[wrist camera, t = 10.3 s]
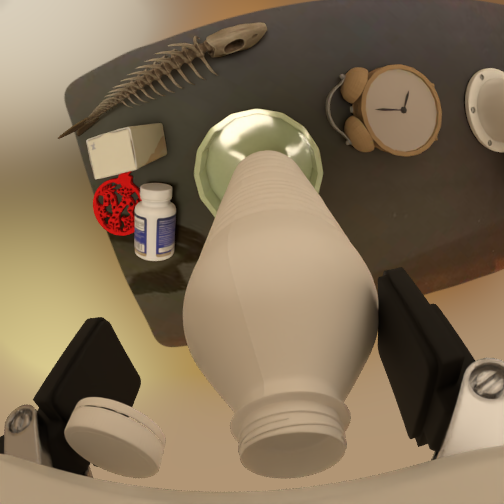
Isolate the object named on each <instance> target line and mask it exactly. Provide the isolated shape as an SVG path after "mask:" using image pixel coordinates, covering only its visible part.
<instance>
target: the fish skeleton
mask: <svg viewBox="0 0 504 504" xmlns="http://www.w3.org/2000/svg"><path fill="white" fill-rule="evenodd" d="M266 31H267V28H266V25H265V24H264V23H251V24H241V25H236V26H234V27H229V28H225V29H222V30H220V31H218V32H216V33H214V34H212V35H210V36H208V37H207V40H205V41H204V43H203V44H199V43H197V40H196V38H198V37H197V36H195V37H194V38H193V41H194V44H193V45H192V44H187V43H179V44H172V45H168V46H182V51H180V52H179V51H178V50H176V49H173V50H172V51H164V52H159V53H156V54H171V58H164V57H169V56H167V55H164V56H163V57H162V58H156V59H150V60H147V61H155V62H154V63H153V65H145V66H140V67H138V68H144V67H146V69H145V71H139V72H134V73H131V74H129V75H132V74H138V75H137V77H132V78H127V79H124V80H131V81H130V83H125V84H121V85H118V86H115V87H121V86H125V88H120V89H116V90H113V91H110V92H114V91H119V93H113V94H110V95H108V96H114V95H117V96H115V97H111V98H108V99H105V100H109V101H105V102H102V103H106V104H102V103H100V104H102V105H99V106H102V107H99V106H97V107H99V108H101V109H99V108H96V109H97V110H98V111H97V110H95V109H94V111H95V112H93V111H92V112H93V114H94V115H93V114H91V117H90V116H89V118H85V119H84V120H82V121H80V122H78V123H77V124H75V125H74V126H72V127H71V128H70V129H68V130H67V131H66V132H65V133H63V134H62V135H60V137H59V138H62V137H64V136H66V135H68V134H70V133H72V132H75V131H76V130H78V131H77V134H76V135H78V136H80V135H81V134H82V133H84V132H85V131H86V130H87V129H88V128H90V127H91V126H92V125H93V124H94V123H95V122H96V121H97V120H98V119H99V117H98V116H99V115H100V116H101V114H104V112H106V111H107V110H109V109H110V108H112V107H113V106H114V105H115V106H117V105H116V104H118V103H121V102H122V103H123V104H125V105H126V106H127V107H130V106H128V105H127V104H126V103H125V102H124V101H123V99H124V98H125V97H126V98H128V99H129V100H130V101H131V102H132V103H133V104H135V105H139V104H136V103H135V102H133V101H132V99H131V98H130V94H134V95H135V96H136V97H137V98H138V99H139V100H141V101H142V102H145V101H143V100H142V99H141V98H140V97H139V96H138V95H137V93H136V91H137V89H140V90H141V91H142V92H143V93H144V94H145V95H146V96H147V97H149V98H150V99H154V98H152V97H150V96H149V95H148V94H147V93H146V91H145V90H144V88H143V87H144V86H145V85H146V84H147V85H149V86H150V87H151V88H152V89H153V90H154V92H155V93H157V94H158V95H161V94H160V93H158V92H157V91H156V89H155V88H154V87H153V85H152V81H153V80H157V81H158V82H159V83H160V84H161V85H162V86H163V87H164V88H165V89H166V90H167V91H168V92H172V91H170V90H169V89H167V87H166V86H165V85H164V83H163V82H162V80H161V76H162V75H163V74H165V75H167V76H168V77H169V78H170V79H171V81H172V82H173V83H174V84H175V85H176V86H177V87H179V88H182V87H180V86H179V85H178V84H177V83H176V82H175V80H174V79H173V77H172V76H171V74H170V72H171V70H172V69H177V71H178V72H179V73H180V74H181V75H182V77H183V78H184V79H185V80H186V81H187V82H188V83H190V84H193V83H191V82H190V81H189V80H188V79H187V78H186V76H185V75H184V73H183V71H182V70H181V68H180V67H181V66H182V64H183V63H187V64H188V65H189V66H190V67H191V68H192V70H193V71H194V72H195V73H196V74H197V76H198V77H200V78H201V79H204V78H203V77H202V76H201V75H200V74H199V73H198V72H197V70H196V69H195V67H194V65H193V64H192V60H193V59H194V58H195V57H200V58H201V59H202V61H203V62H204V63H205V65H206V66H207V67H208V69H209V70H210V71H211V72H212V73H213V74H215V75H217V74H216V73H215V72H214V71H213V70H212V68H211V67H210V65H209V64H208V62H207V61H206V59H205V56H204V55H205V52H206V51H208V53H209V54H210V56H211V57H221V56H224V55H227V54H230V53H233V52H236V51H239V50H246V49H248V48H249V47H250V48H251V47H252V46H253V45H255V44H256V43H257V42H258V41H259V40H260V39H261V38H262V37H263V35H264V34H265V32H266ZM198 39H200V38H198ZM185 47H186V48H190V49H185ZM174 50H175V51H174ZM175 55H177V56H175ZM158 61H162V63H161V64H156V65H155V63H156V62H158ZM144 62H146V61H144ZM158 63H160V62H158ZM148 68H150V69H152V68H153V69H152V70H150V71H147V69H148ZM135 69H136V68H135ZM140 74H145V75H144V76H142V77H139V75H140ZM124 80H122V81H124ZM133 80H136V81H135V82H133V83H132V81H133ZM204 80H206V79H204ZM193 85H195V84H193ZM126 86H128V87H126ZM113 88H114V87H113ZM182 89H183V88H182ZM121 91H122V92H121ZM108 93H109V92H108ZM172 93H175V92H172ZM161 96H165V95H161ZM105 97H106V96H105ZM110 99H112V100H110ZM102 101H104V100H102ZM120 101H121V102H120ZM122 103H121V104H122ZM147 103H148V102H147ZM131 108H133V107H131ZM112 109H113V108H112ZM109 111H110V110H109ZM96 112H97V113H96ZM106 113H107V112H106ZM96 117H98V118H96ZM95 118H96V119H95ZM93 119H94V120H93ZM88 120H89V121H88ZM86 121H87V122H89V123H86ZM84 122H85V123H86V124H85V123H84ZM59 138H58V139H59Z"/></svg>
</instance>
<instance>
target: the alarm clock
mask: <svg viewBox="0 0 504 504" xmlns="http://www.w3.org/2000/svg"><path fill="white" fill-rule="evenodd" d="M340 78H341V81H340V83H339V84H338V85H337V86H335V87H334V88H333V89H332V90H331V91H330V92H329V94H328V96H327V99H326V108H325V110H326V115H327V118H328V121H329V123H330V124H331V126H332V127H333V128H334V129H335V130H336V131H337V132H339V133H340V134H341V135H342V136H343V137H344V138H345V139H346V140H347V141H346V142H345V143H346V144H347V145H350V144H351V145H352V146H353V147H354V148H355V149H357V150H358V151H361V152H370V151H372V150H374V147H376V148H378V149H380V150H382V151H384V152H388V153H391V154H393V155H399V156H405V157H408V156H413V155H417V154H420V153H421V152H423V151H424V150H426V149H428V148H429V147H430V145H431V144H432V143H433V142H434V140H436V141H437V140H438V138H437V135H438V132H439V130H440V127H441V118H442V110H441V105H440V100H439V97H438V95H437V93H436V91H435V88H434V86H435V85H434V84H433V83H432V84H431V83H430V81H429V80H428V79H427V78H426V77H425V76H424V75H423V74H422V73H420V72H418V71H417V70H415V69H414V68H412V67H408V66H404V65H401V64H399V65H387V66H385V67H382V68H377V69H375V70H373V71H371V72H369V73H368V70H367V69H365V68H361V67H356V68H353V69H351V70H349V71H348V72H347V73H346V75H343V74H341V75H340ZM340 86H341V94H342V96H343V98H344V99H345V100H346V101H347V102H349V103H351V104H352V103H353V106H351V107H350V112H351V113H353V115H354V116H350V117H349V118H348V119H347V120H346V122H345V125H344V131H345V134H344V133H343V132H342V131H340V130H339V129H338V128H337V127H336V125H335V124H334V122H333V120H332V117H331V113H330V101H331V97H332V95H333V93H334V92H335V90H336V89H337V88H338V87H340Z"/></svg>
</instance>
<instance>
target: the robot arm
mask: <svg viewBox="0 0 504 504" xmlns="http://www.w3.org/2000/svg"><path fill="white" fill-rule="evenodd" d="M465 108H466V115H467V119H468V122H469V125H470V128H471V130H472V132H473V134H474V135H475V137H476V138H477V139H478V141H479V142H480V143H481V144H482V145H483V146H485V147H486V148H488V149H490V150H492V151H496V152H504V72H502V71H500V70H498V69H494V68H487V69H482V70H480V71H478V72H476V73H475V74H474V75H473V76H472V78H471V79H470V81H469V83H468V86H467V89H466V95H465ZM378 318H379V323H378V350H379V355H380V358H381V360H382V363H383V366H384V368H385V371H386V374H387V376H388V379H389V382H390V384H391V387H392V390H393V393H394V395H395V398H396V401H397V404H398V407H399V410H400V413H401V415H402V418H403V421H404V424H405V427H406V430H407V433H408V436H409V438H410V439H413V438H415V439H416V442H417V445H418V447H419V446H422V445H425V444H428V445H429V448H430V449H431V450H434V451H435V452H434V454H433V457H432V459H431V461H428V462H425V463H421V464H417V465H413V466H410V467H406V468H403V469H399V470H395V471H391V472H387V473H383V474H378V475H374V476H370V477H365V478H360V479H355V480H349V481H343V482H338V483H332V484H326V485H319V486H313V487H304V488H295V489H285V490H272V491H254V492H200V491H182V490H169V489H159V488H150V487H142V486H135V485H128V484H122V483H116V482H111V481H105V480H100V479H95V478H93V476H92V473H91V470H90V467H89V465H90V462H89V461H87V460H86V459H84V458H83V457H82V456H80V455H79V454H78V453H77V452H76V451H75V450H74V449H73V448H72V447H71V446H70V445H69V444H68V442H67V440H66V438H65V434H64V430H65V428H66V425H67V423H68V421H69V419H70V417H71V415H72V412H73V411H74V409H75V407H76V405H77V403H78V402H79V401H80V400H82V399H84V398H88V397H101V398H106V399H111V400H114V401H117V402H120V403H123V404H125V405H128V406H130V407H132V406H133V404H134V401H135V398H136V396H137V393H138V391H139V388H140V385H141V380H140V376H139V375H138V373H137V371H136V369H135V368H134V366H133V364H132V363H131V361H130V359H129V357H128V356H127V354H126V352H125V350H124V349H123V346H122V345H121V343H120V341H119V339H118V338H117V335H116V333H115V332H114V330H113V328H112V326H111V324H110V323H109V322H108V321H106V320H105V319H104V318H102V317H98V318H90V319H87V320H86V321H85V323H84V324H83V325H82V327H81V328H80V330H79V331H78V332H77V334H76V335H75V337H74V338H73V340H72V341H71V342H70V344H69V345H68V347H67V348H66V350H65V351H64V352H63V354H62V356H61V357H60V358H59V360H58V361H57V363H56V364H55V366H54V368H53V369H52V371H51V372H50V373H49V375H48V377H47V378H46V380H45V381H44V383H43V384H42V386H41V387H40V389H39V391H38V392H37V394H36V395H35V397H34V399H33V400H34V401H35V403H36V404H37V405H38V407H39V409H38V411H37V410H36V409H35V408H34V407H33V406H31V405H22V406H20V407H18V408H16V409H15V410H14V411H13V412H12V413H11V414H10V415H9V416H8V418H7V420H6V422H5V430H4V431H5V432H4V435H3V436H1V437H0V504H504V362H503V361H502V360H498V359H495V358H484V359H480V360H477V361H475V360H474V358H473V357H472V355H471V354H470V352H469V351H468V349H467V347H466V346H465V345H464V343H463V341H462V340H461V338H460V337H459V336H458V334H457V333H456V331H455V330H454V328H453V327H452V325H451V324H450V323H449V321H448V320H447V318H446V317H445V316H444V315H443V313H442V311H441V310H440V309H439V307H438V306H437V305H436V304H429V303H428V301H427V300H426V298H425V297H424V295H423V294H422V293H421V291H420V290H419V289H418V287H417V286H416V285H415V283H414V282H413V280H412V279H411V278H410V277H409V275H408V274H407V273H406V271H405V270H404V269H403V268H402V267H401V268H396V269H391V270H387V271H384V273H383V276H382V277H379V278H378ZM87 406H91V405H87ZM84 407H85V406H84ZM91 407H97V406H91ZM99 408H103V409H107V410H110V411H114V412H116V411H115V410H112V409H109V408H105V407H99ZM116 413H118V412H116ZM119 414H121V415H124V416H126V417H129V416H127V415H125V414H123V413H119ZM93 465H94V464H93ZM94 466H96V465H94ZM97 467H98V466H97Z"/></svg>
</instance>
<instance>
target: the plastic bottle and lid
mask: <svg viewBox="0 0 504 504" xmlns="http://www.w3.org/2000/svg"><path fill="white" fill-rule="evenodd" d="M378 323H379V318H378V296H377V291H376V287H375V284H374V281H373V278H372V276H371V274H370V271H369V269H368V268H367V266H366V264H365V262H364V261H363V259H362V257H361V256H360V254H359V253H358V252H357V250H356V249H355V248H354V246H353V245H352V244H351V243H350V241H349V239H348V238H347V236H346V235H345V233H344V232H343V230H342V229H341V227H340V226H339V224H338V223H337V221H336V220H335V218H334V217H333V215H332V214H331V212H330V211H329V210H328V208H327V207H326V205H325V203H324V201H323V200H322V198H321V197H320V195H319V194H318V193H317V192H316V190H315V189H314V187H313V186H312V185H311V183H310V182H309V180H308V179H307V178H306V176H305V175H304V173H303V172H302V171H301V169H300V168H299V166H298V165H297V164H296V163H295V162H294V161H293V160H292V159H291V158H290V157H288V156H287V155H285V154H283V153H280V152H277V151H271V150H265V151H258V152H255V153H253V154H250V155H249V156H247V157H246V158H244V159H243V160H242V161H241V162H240V163H239V164H238V166H237V167H236V169H235V171H234V173H233V175H232V177H231V180H230V182H229V185H228V187H227V189H226V192H225V194H224V196H223V199H222V201H221V204H220V206H219V208H218V211H217V214H216V217H215V219H214V222H213V224H212V227H211V229H210V232H209V234H208V237H207V239H206V242H205V244H204V247H203V250H202V252H201V254H200V257H199V260H198V262H197V264H196V266H195V268H194V270H193V272H192V275H191V277H190V280H189V283H188V286H187V289H186V293H185V298H184V304H183V325H184V332H185V337H186V341H187V345H188V348H189V350H190V353H191V355H192V357H193V359H194V361H195V363H196V364H197V366H198V367H199V369H200V370H201V372H202V373H203V374H204V376H205V377H206V378H207V380H208V381H209V382H210V384H211V385H212V386H213V387H214V388H215V390H216V391H217V392H218V393H219V395H220V396H221V397H222V398H223V399H224V401H225V402H226V403H227V404H228V405H229V407H230V408H231V409H232V410H233V411H234V412H235V415H234V416H233V418H232V420H231V424H230V429H231V433H232V435H233V437H234V438H235V439H236V440H237V441H238V443H239V446H238V452H239V455H240V460H241V463H242V464H243V466H244V467H245V468H247V469H248V470H250V471H251V472H253V473H256V474H259V475H262V476H266V477H272V478H297V477H304V476H309V475H313V474H316V473H319V472H322V471H324V470H326V469H328V468H330V467H332V466H333V465H335V464H336V463H337V462H339V461H340V459H341V458H342V457H343V455H344V453H345V449H346V446H347V443H346V439H345V431H346V429H347V428H348V426H349V423H350V419H351V417H350V412H349V409H348V407H347V406H346V405H345V404H344V401H345V399H346V398H347V396H348V394H349V392H350V391H351V389H352V387H353V385H354V384H355V382H356V380H357V378H358V377H359V374H360V373H361V371H362V369H363V367H364V365H365V363H366V361H367V359H368V357H369V355H370V353H371V351H372V348H373V345H374V343H375V340H376V336H377V332H378ZM87 405H91V406H97V407H91V406H87ZM84 406H85V407H84ZM99 407H105V408H109V409H112V410H115V411H116V412H118V413H116V412H114V411H110V410H107V409H103V408H99ZM119 413H123V414H125V415H127V416H129V417H131V418H133V419H135V420H136V421H137V422H136V421H134V420H132V419H130V418H128V417H126V416H124V415H121V414H119ZM138 422H139V423H142V424H144V425H145V426H147V427H148V428H149V429H150V430H151V431H152V432H153V433H154V434H155V435H157V437H158V438H159V439H160V440H159V439H158V438H157V437H156V436H155V435H154V434H153V433H152V432H151V431H150V430H148V429H147V428H146V427H144V426H143V425H141V424H139V423H138ZM64 434H65V438H66V440H67V442H68V444H69V445H70V446H71V447H72V448H73V449H74V450H75V451H76V452H77V453H78V454H79V455H80V456H82V457H83V458H84V459H86V460H87V461H89V462H91V463H92V464H94V465H96V466H98V467H100V468H102V469H104V470H107V471H109V472H112V473H115V474H118V475H122V476H127V477H133V478H147V477H151V476H153V475H155V474H156V473H157V472H158V471H159V468H160V463H161V459H162V455H163V451H164V447H165V441H166V438H165V435H164V433H163V431H162V430H161V429H160V427H159V426H158V425H157V424H156V423H155V422H154V421H153V420H151V419H150V418H149V417H147V416H146V415H144V414H143V413H141V412H139V411H138V410H136V409H134V408H132V407H130V406H128V405H125V404H123V403H120V402H117V401H114V400H111V399H106V398H101V397H88V398H84V399H82V400H80V401H79V402H78V403H77V405H76V407H75V409H74V411H73V412H72V415H71V417H70V419H69V421H68V423H67V425H66V428H65V430H64ZM160 441H161V442H160Z"/></svg>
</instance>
